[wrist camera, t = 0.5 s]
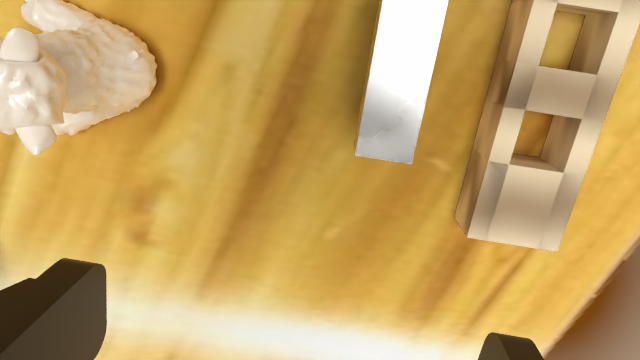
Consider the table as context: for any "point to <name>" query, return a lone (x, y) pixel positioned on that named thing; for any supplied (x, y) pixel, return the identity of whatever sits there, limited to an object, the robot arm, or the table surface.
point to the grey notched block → (398, 78)
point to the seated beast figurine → (68, 73)
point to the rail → (565, 130)
